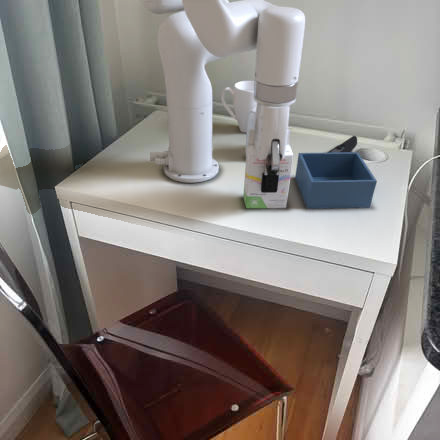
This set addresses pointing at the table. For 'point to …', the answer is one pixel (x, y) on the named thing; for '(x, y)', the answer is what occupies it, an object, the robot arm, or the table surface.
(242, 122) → the mug
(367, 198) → the holder
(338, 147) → the electric trimmer
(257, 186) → the ink box
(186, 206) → the table surface
